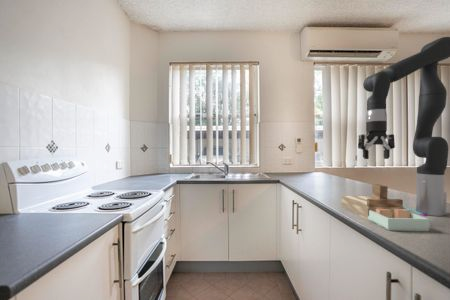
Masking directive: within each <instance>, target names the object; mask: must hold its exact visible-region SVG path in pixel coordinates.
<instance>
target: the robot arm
mask: <svg viewBox="0 0 450 300" xmlns="http://www.w3.org/2000/svg"><path fill="white" fill-rule="evenodd" d="M448 58H450V36H443V37H440V38H436V39H435V40H433V41H431V42H429V43H427V44H425V45H423V47H422V48H421V49H420V51H419V52H417V53H415V54H412V55H409V56H408V57H406V58H403V59H402V60H399V61H397V62H395V63H393V64H391V65H389V66H387V67H386V68H384V69H383V70H380V71H378V72H376V73H374V74H371V75H369V76H367V77H366V78H365V79H364V80H363V84H362V85H363V89H364V90H365V91H367V92H370V93H372V94H371V96H368V98H367V99H366V115H365V116H366V117H365V123H366V124H365V132H366V134H359V135H358V145H357V148H358V149H360V150H362V157H363V159H364V160H369V156H370V155H369V154H370V153H369V149H370V148H371V146H373V145H378V146H379V145H380V146H381V147H382V148H383V159H384V160H388V159H390V157H391V155H390V154H391V150H392V149H395V148H396V147H395V146H396V145H395V144H396V143H395V134H393V133H391V134H387V131H388V122H387V121H388V114H387V99H388V95H389V91H390V88H391V84H392V83H394V82H397V81H400V80H401V79H404V78H405V77H407V76H409V75H411V74H412V73H415V72H416V71H418V70H419V73H420V80H419V95H418V105H417V106H418V108H417V119H416V127H415V132H414V137H413V141H412V151H413V154H414V155H415V156H416V157H418V158H423V159H425V162H424V163H423V164H421V165H418V166H417V167H416V194H415V196H416V197H415V199H416V200H415V202H416V203H415V205H416V206H415V211H417V212H419V213H422V214H424V215H428V216H433V217H434V216H435V217H442V216H446V215H447V195H448V194H447V192H445V174H446V172H445V171H446V169H447V167H448V160H449V144H448V141H447V140H446V139H445V138H444V137H442V136H433V131H434V127H435V124H436V123H437V121H438V120H439V118H440V117H441V115H442V113H443V112H444V111H445V108H446V104H447V95H448V93H447V88H446V86H445V85H444V83H443V82H442V80H441V79H440V77H439V74H438V65H439V62H441V61H445V60H447V59H448ZM365 140H366V141H365Z"/></svg>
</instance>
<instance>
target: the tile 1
mask: <svg viewBox="0 0 450 300" xmlns="http://www.w3.org/2000/svg"><path fill="white" fill-rule="evenodd" d="M376 213H378V214H381V215H383V216H385V217H388V218H391V210H389V209H376Z"/></svg>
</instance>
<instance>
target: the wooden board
mask: <svg viewBox="0 0 450 300" xmlns="http://www.w3.org/2000/svg"><path fill="white" fill-rule="evenodd" d="M367 199H372V195H371V196H370V195H369V196H367V195H366V196H365V195H363V196H361V195H359V196H358V195H341V207H342V208H343V209H346V210H348V211H349V212H352V213H354V214H355V215H357V216H359V217H361V218H363V219H365V220H367V221H369V220H368V216H369V210H372V211H374V212H376V209H389V210H391V216H394V209H405V208H404V207H405V206H404V207H403V208H397V207H368V206H367Z"/></svg>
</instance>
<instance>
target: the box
mask: <svg viewBox="0 0 450 300" xmlns="http://www.w3.org/2000/svg"><path fill="white" fill-rule="evenodd" d="M367 221H369V222H371V223H373V224H375V225H377V226H379V227H381V228H383V229H384V230H387V231H397V232H398V231H400V232H401V231H404V232H405V231H407V232H408V231H409V232H429V231H430V219H429V218H427V217H425V216H422V215H420V214H417V213H416V214H415V213H414V212H413V213H412V212H410V218H394V216H391V218H388V217H385V216H383V215H381V214H378V213H376V212H374V211H372V210H369V216H368V220H367Z"/></svg>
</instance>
